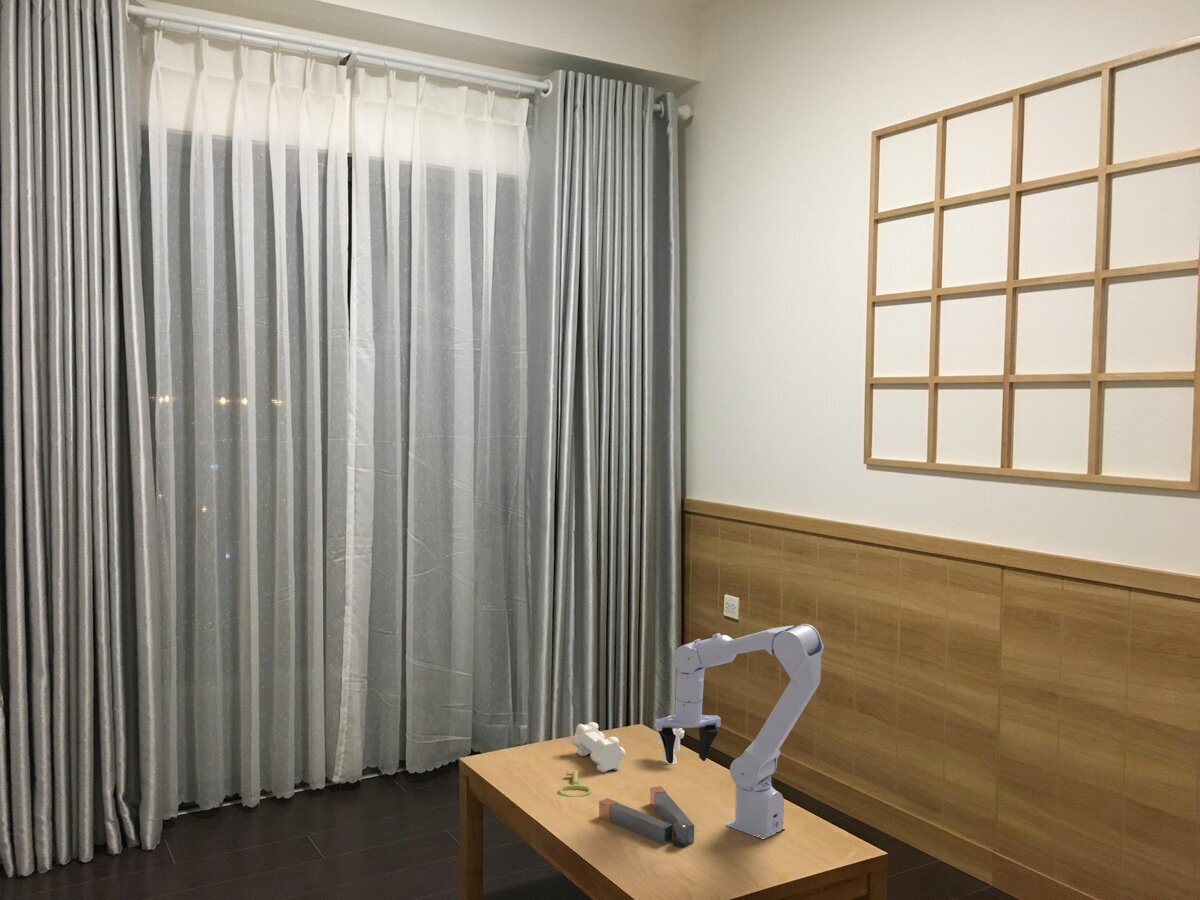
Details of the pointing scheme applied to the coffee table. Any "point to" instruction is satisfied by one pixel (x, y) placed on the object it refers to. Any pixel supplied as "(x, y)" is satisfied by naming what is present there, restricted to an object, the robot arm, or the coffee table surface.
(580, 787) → the key
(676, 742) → the flower shoulder figurine
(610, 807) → the tongs fixed arm
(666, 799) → the bar
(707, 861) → the coffee table surface
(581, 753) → the bone shaped toy
